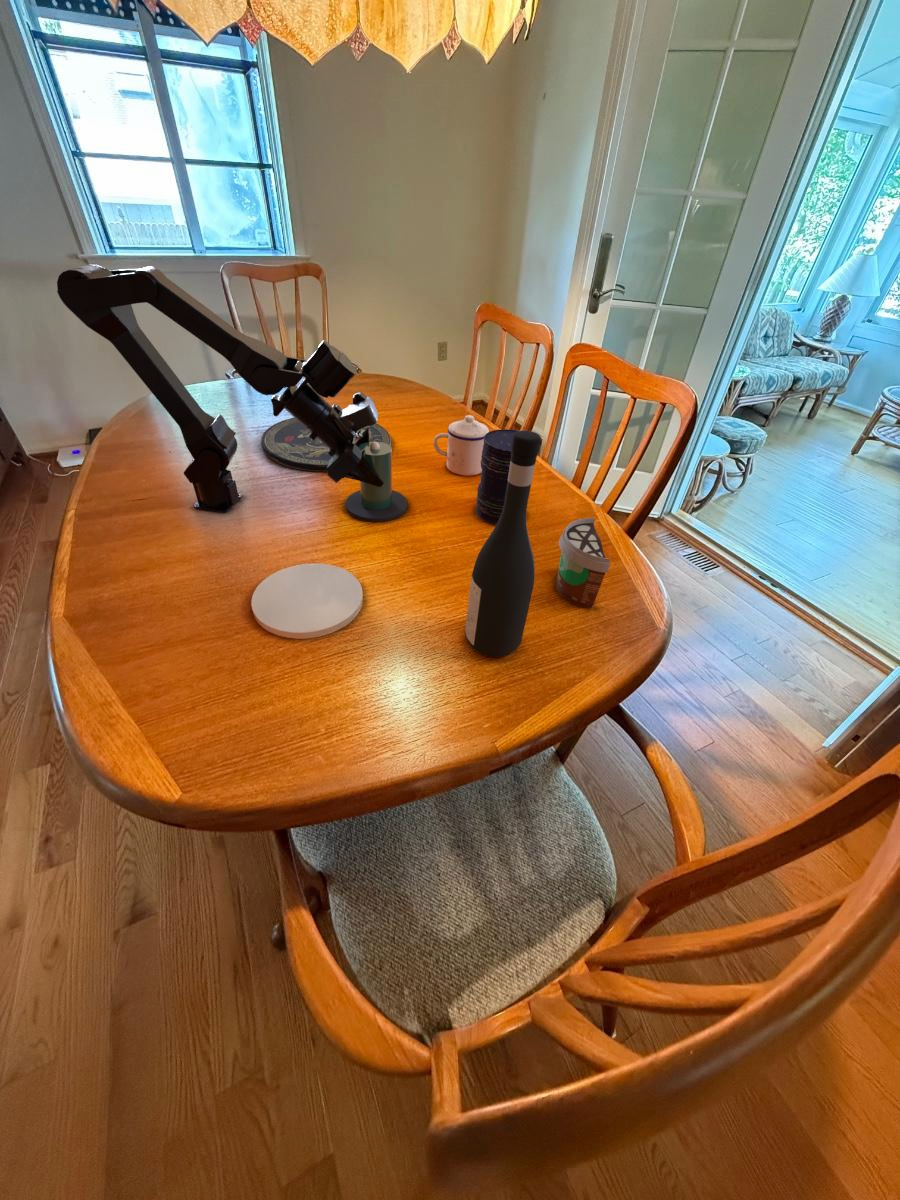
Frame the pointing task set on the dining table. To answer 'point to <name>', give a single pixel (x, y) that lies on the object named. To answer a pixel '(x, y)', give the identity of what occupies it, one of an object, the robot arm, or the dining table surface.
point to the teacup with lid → (464, 446)
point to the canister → (382, 465)
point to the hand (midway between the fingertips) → (383, 477)
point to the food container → (581, 563)
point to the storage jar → (494, 474)
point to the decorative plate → (305, 445)
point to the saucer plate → (307, 600)
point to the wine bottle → (505, 563)
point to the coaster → (369, 515)
